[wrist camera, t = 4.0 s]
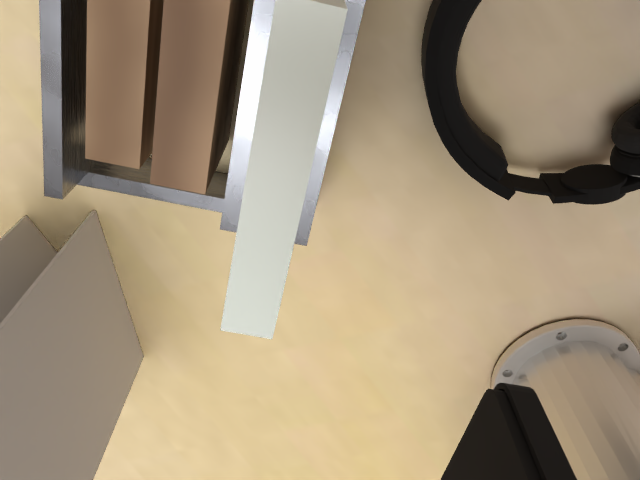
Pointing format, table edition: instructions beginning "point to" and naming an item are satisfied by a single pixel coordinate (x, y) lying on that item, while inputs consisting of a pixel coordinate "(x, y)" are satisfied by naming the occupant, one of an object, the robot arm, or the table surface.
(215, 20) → the offcut tall
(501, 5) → the table surface
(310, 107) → the pale grey panel
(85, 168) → the rack
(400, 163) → the table surface
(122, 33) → the offcut short
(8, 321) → the brochure
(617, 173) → the headphones
